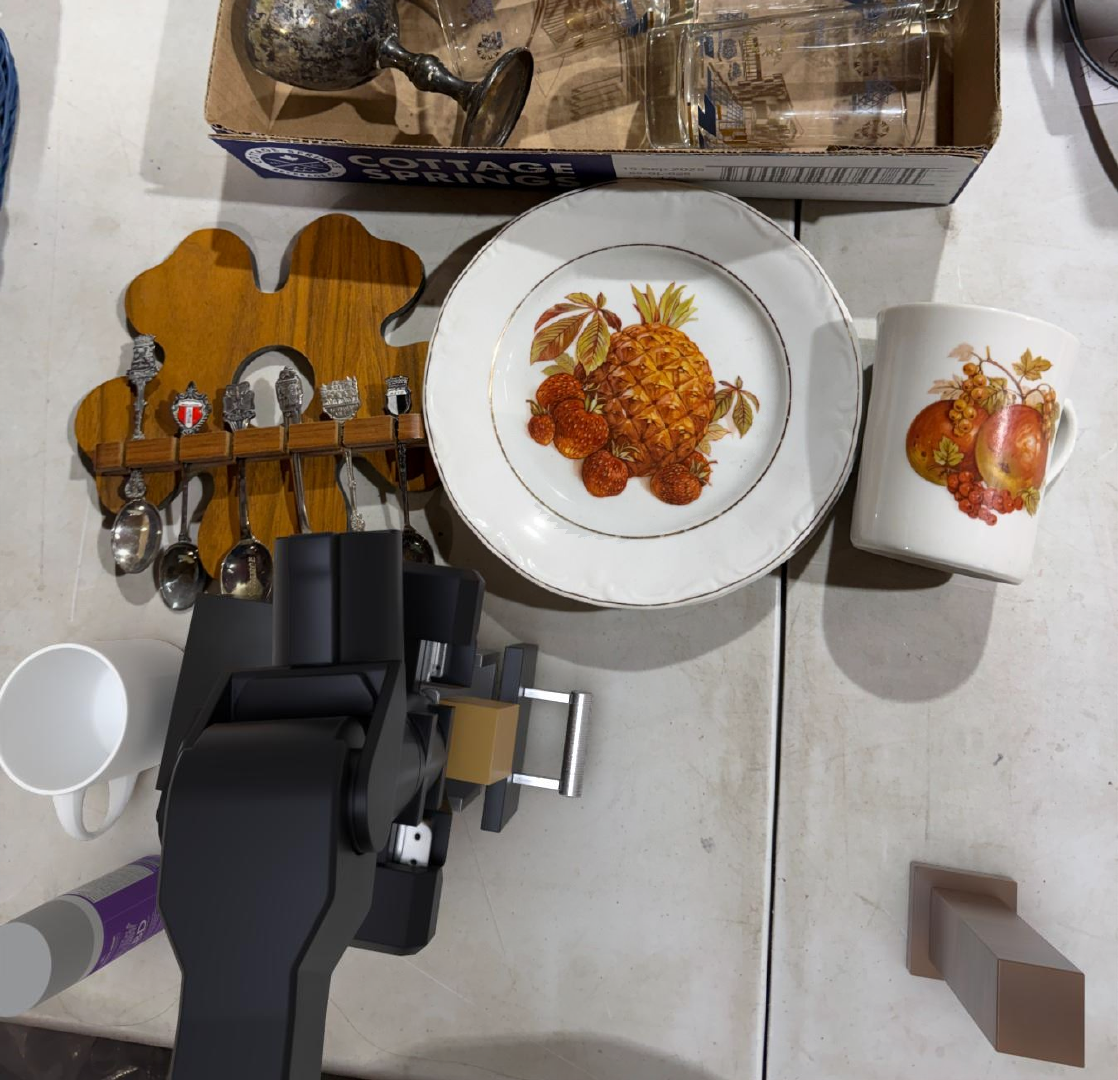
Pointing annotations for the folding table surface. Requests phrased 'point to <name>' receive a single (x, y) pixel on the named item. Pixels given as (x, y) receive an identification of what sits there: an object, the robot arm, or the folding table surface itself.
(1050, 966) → the stand
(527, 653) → the drawer with silver handle
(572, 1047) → the folding table surface
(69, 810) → the mug
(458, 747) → the block
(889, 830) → the folding table surface
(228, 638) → the black drawer box
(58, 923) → the container
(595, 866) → the folding table surface
